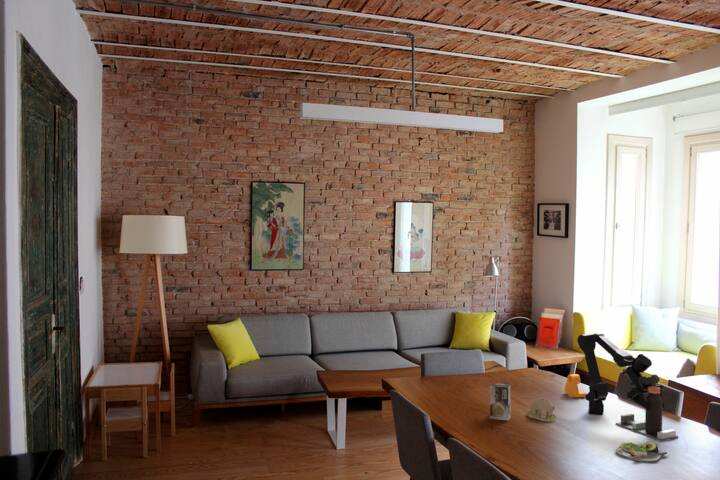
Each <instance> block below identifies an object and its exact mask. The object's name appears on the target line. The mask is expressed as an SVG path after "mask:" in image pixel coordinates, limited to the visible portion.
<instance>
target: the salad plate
mask: <svg viewBox="0 0 720 480" xmlns="http://www.w3.org/2000/svg"><path fill="white" fill-rule="evenodd" d="M614 451H615V452H616V453H617V454H618V455H619V456H620V457H622V458H625V459H628V460H633V461H636V462H646V463H647V462H648V463H650V462H651V463H652V462H653V463H654V462H656V461H659V460H660V459H661V457H663V456H665V455H668V452H667V451H662V450H661V449H659V447H658V444H657V443H656V442H653V441H647V442H644V443H643V444H638V443H633V442H624V443H621V444H619V445H618V446H617V447H616V449H615V450H614ZM624 452H625V453H628V454H630V455H627V454H624Z"/></svg>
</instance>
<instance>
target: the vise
mask: <svg viewBox="0 0 720 480" xmlns="http://www.w3.org/2000/svg"><path fill="white" fill-rule="evenodd" d="M634 422H638V420H637V421H636V420H634ZM615 425H616V426H618V427H621V428H623V429H626V430H629V431H631V432H634V433H638V434H641V435H643V436H645V437H648V438H651V439H653V440H656V441H659V442H664V441H669V440H675V439H679V435H677V431H676V430H675V429H672V428H671V429H666V430H662V431H660V432H657V434H652V433H649V432H647V431H645V428H640V429H634V428H632V425H631V424H628V423H625V424H623V423H621V421H618V422H615Z"/></svg>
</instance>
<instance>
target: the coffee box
mask: <svg viewBox="0 0 720 480" xmlns="http://www.w3.org/2000/svg"><path fill="white" fill-rule="evenodd" d="M511 385H512V384H507V383H499V382H498V383H497V382H492V383H491V384H490V386H489V419H490V420H491V419H492V420H499V421H510V419H511V416H512V415H511V405H512V404H511V403H512V402H511V396H512V395H511V394H512V393H511V389H512V387H511Z"/></svg>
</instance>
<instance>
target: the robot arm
mask: <svg viewBox="0 0 720 480" xmlns="http://www.w3.org/2000/svg"><path fill="white" fill-rule="evenodd" d="M576 341H577V344H578V347H579V349H580V350H581V351H582V352H583V355H584V359H585V362H586V367H587V371H588V374H589V375H588V376H589V380H590V382H589V387H588V388H589V389H588V392H586V393H587V394H586V395H585V397H584V398H585V400H586V401H588V409H587V411H588V414H590V415H591V414H593V415H601V416H602V415H604V413H605V409H604V408H605V404H604V402H605V401H606V400H607V397H608V395H609V391H610V390H609V388H608V383H607V382H604V381H603V380H602V378H601V373H600V370H599V365H598V362H597V358H596V353H595V349H596V345H599V346H600V347H601V348H602V349H604V350H605V351H606V353H608V354H609V355H610V356H611V357H612V358H613V359H612V361H613V362H614V363H615V364H616V366H618V367H619V368H623V369H622V372H621V375H622V376H627V377H628V380H630V382H631V383H630V386H632V388H631V389H629V390H628V391H627V392H626V397H627V399H628V400H631V402H634V403H636V404H638V405H639V406H641V407H643V408H644V409H645V410H646V409H647V410H649V409H650V408H649V406H648V404H647V402H646V398H645V397H644V395H645V394H646V395H647V394H649V393H648V387H649V386H655V387H659V388H660V394H659V396H660V397H661V398H662V409H663V408H665V403H664V400H663V393H664V391H665V389H666V388H665V387H664V385H663V384H660V383H659V382H660V377H659V376H658V375H657V374H653V375H652V374H651V375H650V376H649V377H647V376H645V375H644V376H643V375H642V373H645V371H647V370H648V369H649V368H650V367H651V366H652V365H653V362H652V360H651V359H650V358H649V357H647V356H645V355H644V354H643V353H640V354H638V355H637V357H633V355H632V354H631V353H629V352H627V351H625V350H622V349H620V348H618V346H617V345H615V343H613V342H612V341H611V340H610V339H608V338H607V337H606V336H605V334H604V333H601V332H599V333H593V334H592V333H585V334H584V333H583V334H580V335H578V337H577V340H576ZM603 401H604V402H603Z"/></svg>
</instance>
